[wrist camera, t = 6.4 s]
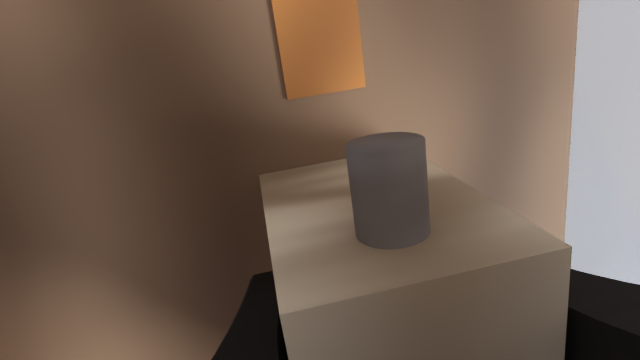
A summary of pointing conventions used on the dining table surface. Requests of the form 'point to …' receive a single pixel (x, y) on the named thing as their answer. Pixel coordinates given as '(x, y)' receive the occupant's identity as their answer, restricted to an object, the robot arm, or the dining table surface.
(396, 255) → the block
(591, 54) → the dining table surface
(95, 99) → the walnut board
